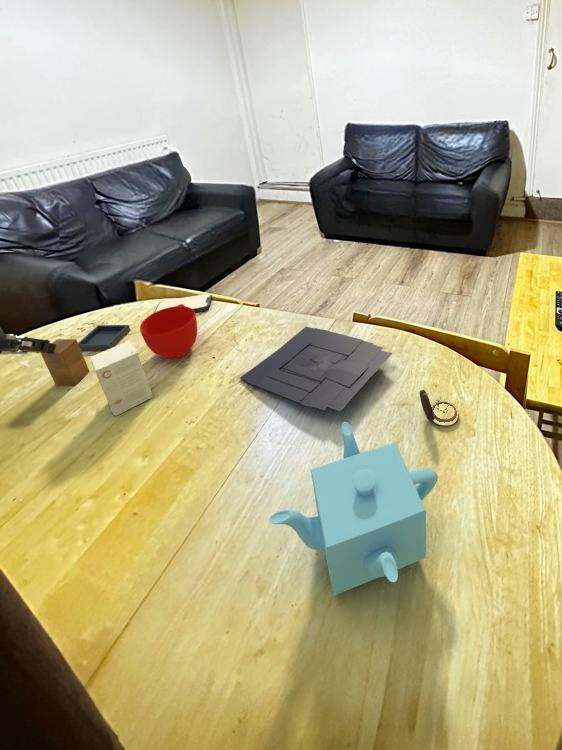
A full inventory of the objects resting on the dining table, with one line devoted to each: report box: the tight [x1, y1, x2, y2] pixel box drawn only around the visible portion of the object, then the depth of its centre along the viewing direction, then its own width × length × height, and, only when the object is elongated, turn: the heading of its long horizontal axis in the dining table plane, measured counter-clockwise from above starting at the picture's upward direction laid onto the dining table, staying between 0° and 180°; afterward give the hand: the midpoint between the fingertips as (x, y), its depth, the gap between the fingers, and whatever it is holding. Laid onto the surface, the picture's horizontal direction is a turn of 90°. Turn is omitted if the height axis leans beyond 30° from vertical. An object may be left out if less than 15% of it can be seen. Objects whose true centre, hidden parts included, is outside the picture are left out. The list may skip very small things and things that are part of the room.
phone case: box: [153, 293, 213, 313], centre depth 129 cm, size 9×2×16 cm
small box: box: [89, 340, 154, 417], centre depth 92 cm, size 8×6×13 cm
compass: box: [419, 389, 457, 423], centre depth 86 cm, size 8×8×7 cm
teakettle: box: [268, 421, 439, 597], centre depth 62 cm, size 19×19×15 cm
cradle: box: [78, 324, 131, 352], centre depth 115 cm, size 9×9×2 cm
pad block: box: [40, 338, 91, 387], centre depth 100 cm, size 5×5×10 cm
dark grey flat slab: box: [239, 326, 393, 412], centre depth 100 cm, size 24×30×4 cm
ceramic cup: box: [139, 304, 198, 360], centre depth 110 cm, size 13×17×10 cm
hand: (35, 349), depth 92 cm, fingers open, 8 cm apart
